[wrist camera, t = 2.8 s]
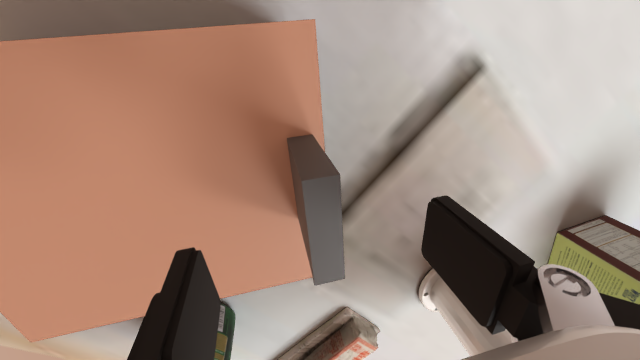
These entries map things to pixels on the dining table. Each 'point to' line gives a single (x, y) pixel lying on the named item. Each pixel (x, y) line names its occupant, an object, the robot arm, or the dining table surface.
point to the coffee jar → (225, 333)
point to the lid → (160, 169)
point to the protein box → (602, 256)
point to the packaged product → (337, 340)
